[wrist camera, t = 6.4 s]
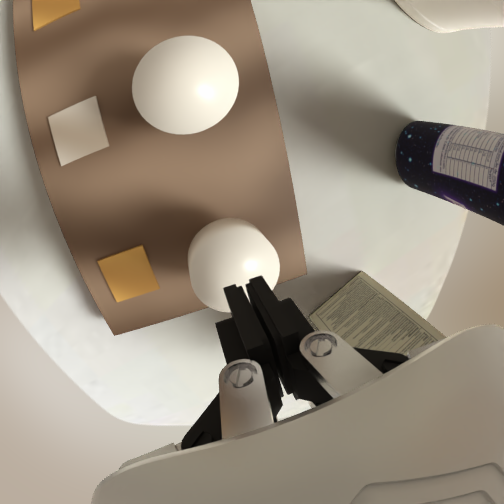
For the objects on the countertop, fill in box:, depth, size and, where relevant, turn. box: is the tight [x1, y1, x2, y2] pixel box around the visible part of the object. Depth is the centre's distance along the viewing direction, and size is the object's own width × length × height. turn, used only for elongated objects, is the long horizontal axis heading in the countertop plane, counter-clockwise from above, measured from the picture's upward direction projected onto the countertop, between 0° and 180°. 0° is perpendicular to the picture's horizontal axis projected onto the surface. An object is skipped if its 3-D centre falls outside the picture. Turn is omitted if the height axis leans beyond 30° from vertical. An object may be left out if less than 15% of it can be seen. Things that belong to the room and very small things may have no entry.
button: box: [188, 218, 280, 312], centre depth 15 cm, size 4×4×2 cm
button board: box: [13, 0, 307, 336], centre depth 15 cm, size 26×14×2 cm, turn 13°
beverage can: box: [395, 121, 504, 225], centre depth 16 cm, size 6×6×12 cm
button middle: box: [132, 36, 239, 135], centre depth 11 cm, size 4×4×2 cm
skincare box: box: [310, 271, 446, 355], centre depth 20 cm, size 6×4×12 cm
